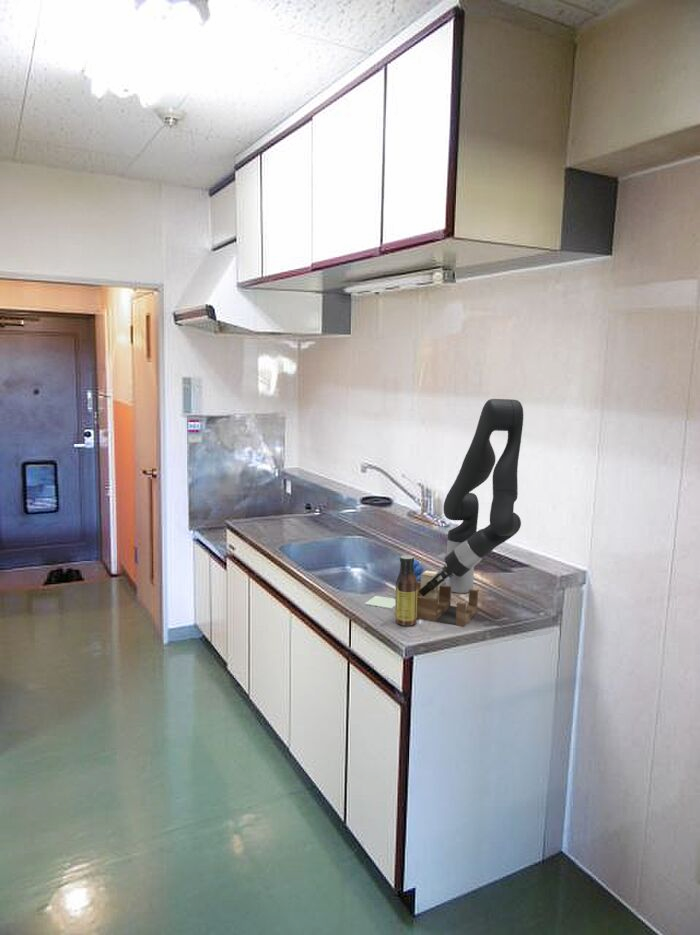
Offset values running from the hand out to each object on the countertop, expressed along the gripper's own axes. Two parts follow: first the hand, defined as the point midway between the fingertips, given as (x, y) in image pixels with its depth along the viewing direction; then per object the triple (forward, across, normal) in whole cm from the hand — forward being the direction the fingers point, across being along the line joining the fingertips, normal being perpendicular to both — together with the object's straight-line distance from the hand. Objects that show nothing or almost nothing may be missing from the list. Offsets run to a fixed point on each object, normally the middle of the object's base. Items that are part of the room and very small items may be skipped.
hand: (424, 591), depth 204 cm
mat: (+14, -1, -5) cm, 15 cm away
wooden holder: (+2, 0, +7) cm, 7 cm away
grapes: (+10, -15, -1) cm, 18 cm away
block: (+2, 0, +4) cm, 5 cm away
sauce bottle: (+5, +13, +4) cm, 15 cm away
